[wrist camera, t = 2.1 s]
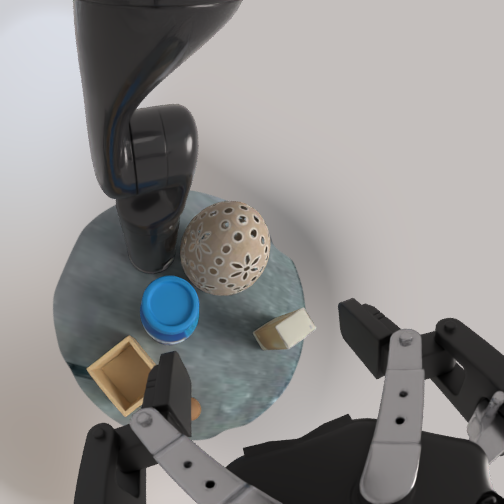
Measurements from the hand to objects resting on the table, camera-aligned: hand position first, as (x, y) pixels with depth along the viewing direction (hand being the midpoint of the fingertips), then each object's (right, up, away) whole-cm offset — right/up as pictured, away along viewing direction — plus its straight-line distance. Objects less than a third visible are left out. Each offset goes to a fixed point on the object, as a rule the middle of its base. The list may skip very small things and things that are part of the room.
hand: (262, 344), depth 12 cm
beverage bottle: (-16, -9, +35) cm, 39 cm away
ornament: (-8, +1, +41) cm, 42 cm away
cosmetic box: (+3, -12, +40) cm, 42 cm away
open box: (-22, -17, +29) cm, 40 cm away
